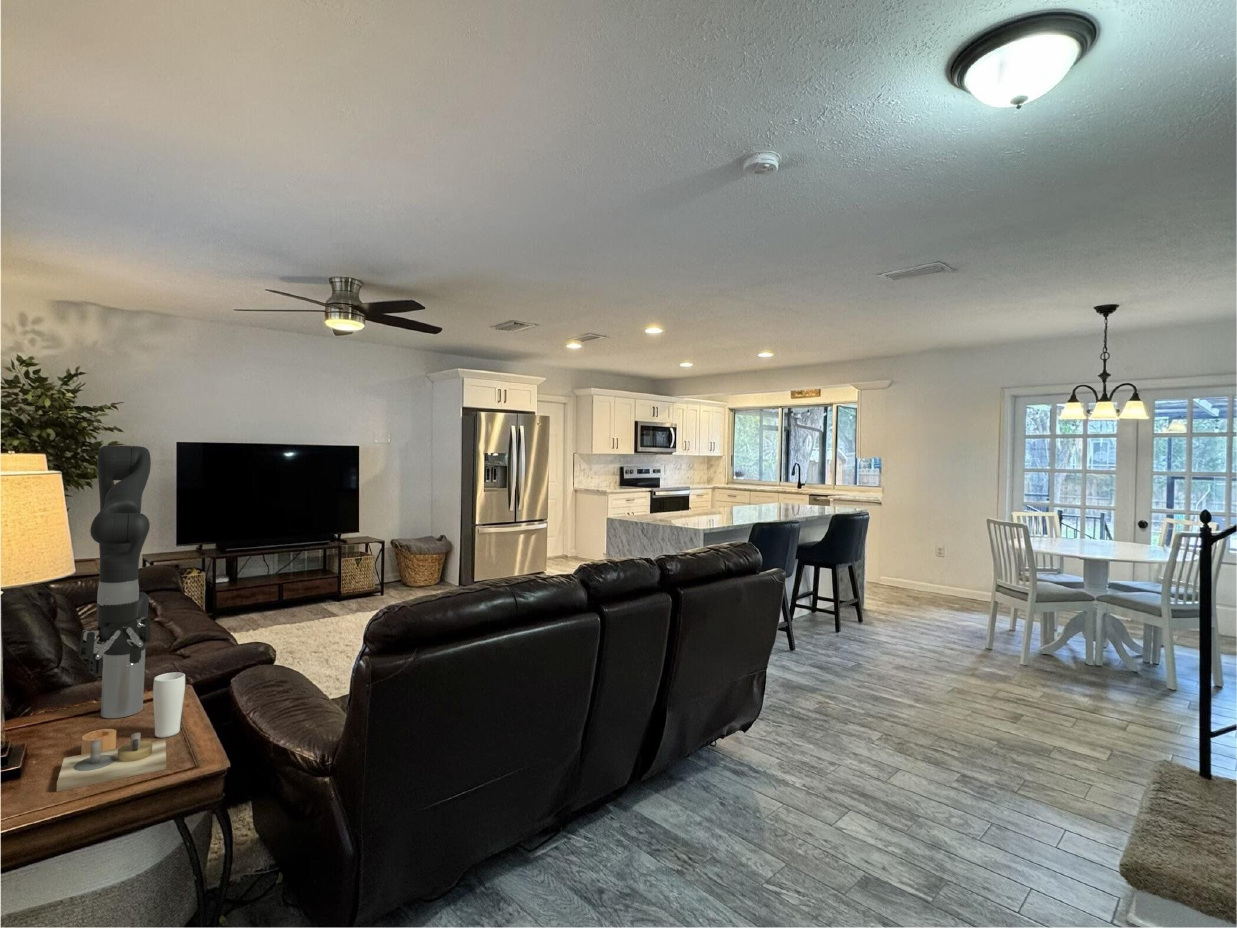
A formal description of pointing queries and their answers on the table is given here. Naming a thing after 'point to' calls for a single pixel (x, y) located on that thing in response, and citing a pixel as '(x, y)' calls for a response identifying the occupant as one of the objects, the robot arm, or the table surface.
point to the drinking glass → (168, 703)
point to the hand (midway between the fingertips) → (115, 668)
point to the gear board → (112, 763)
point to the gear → (104, 735)
